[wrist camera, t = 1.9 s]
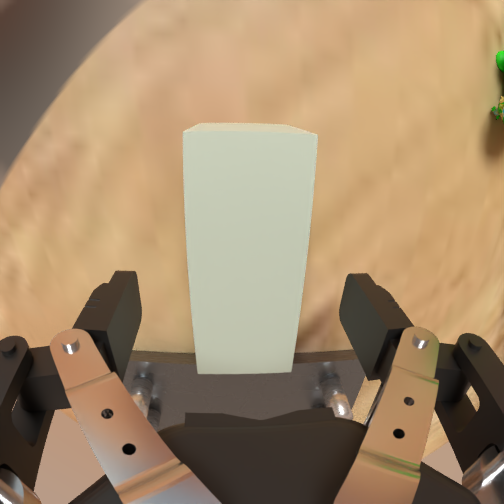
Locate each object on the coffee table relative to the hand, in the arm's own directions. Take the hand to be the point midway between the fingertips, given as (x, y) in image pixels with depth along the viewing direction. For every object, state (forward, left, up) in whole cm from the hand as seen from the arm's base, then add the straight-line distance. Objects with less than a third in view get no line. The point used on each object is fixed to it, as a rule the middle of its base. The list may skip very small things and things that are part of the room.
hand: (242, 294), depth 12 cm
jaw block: (0, 0, -9) cm, 9 cm away
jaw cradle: (0, +16, -9) cm, 18 cm away
